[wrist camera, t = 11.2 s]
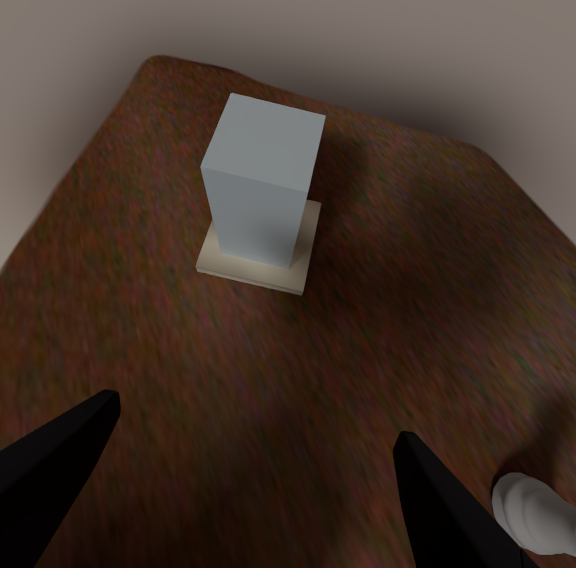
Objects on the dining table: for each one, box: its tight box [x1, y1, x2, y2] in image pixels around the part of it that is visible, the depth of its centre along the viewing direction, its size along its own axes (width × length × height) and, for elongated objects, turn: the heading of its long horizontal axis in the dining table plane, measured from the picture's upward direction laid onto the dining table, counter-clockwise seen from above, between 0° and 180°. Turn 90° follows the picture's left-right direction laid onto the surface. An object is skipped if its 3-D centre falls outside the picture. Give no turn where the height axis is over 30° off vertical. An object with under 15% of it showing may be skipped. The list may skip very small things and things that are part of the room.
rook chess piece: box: [492, 473, 576, 557], centre depth 18 cm, size 4×4×8 cm
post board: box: [195, 199, 321, 296], centre depth 25 cm, size 9×9×4 cm
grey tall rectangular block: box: [200, 93, 326, 269], centre depth 21 cm, size 6×6×10 cm
